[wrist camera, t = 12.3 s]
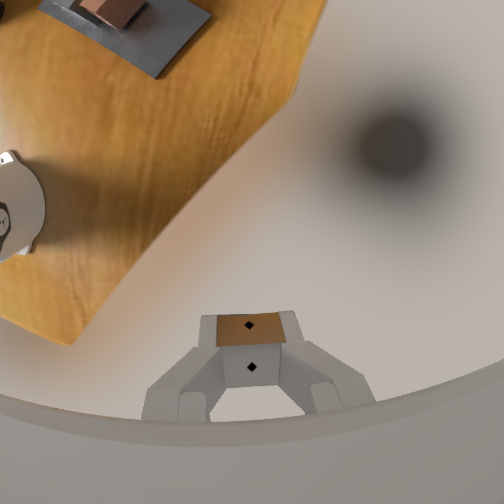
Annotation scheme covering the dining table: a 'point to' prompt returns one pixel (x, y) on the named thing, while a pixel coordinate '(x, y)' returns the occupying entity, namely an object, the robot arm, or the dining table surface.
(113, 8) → the shaft
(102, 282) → the dining table surface
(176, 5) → the housing
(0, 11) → the coffee mug
